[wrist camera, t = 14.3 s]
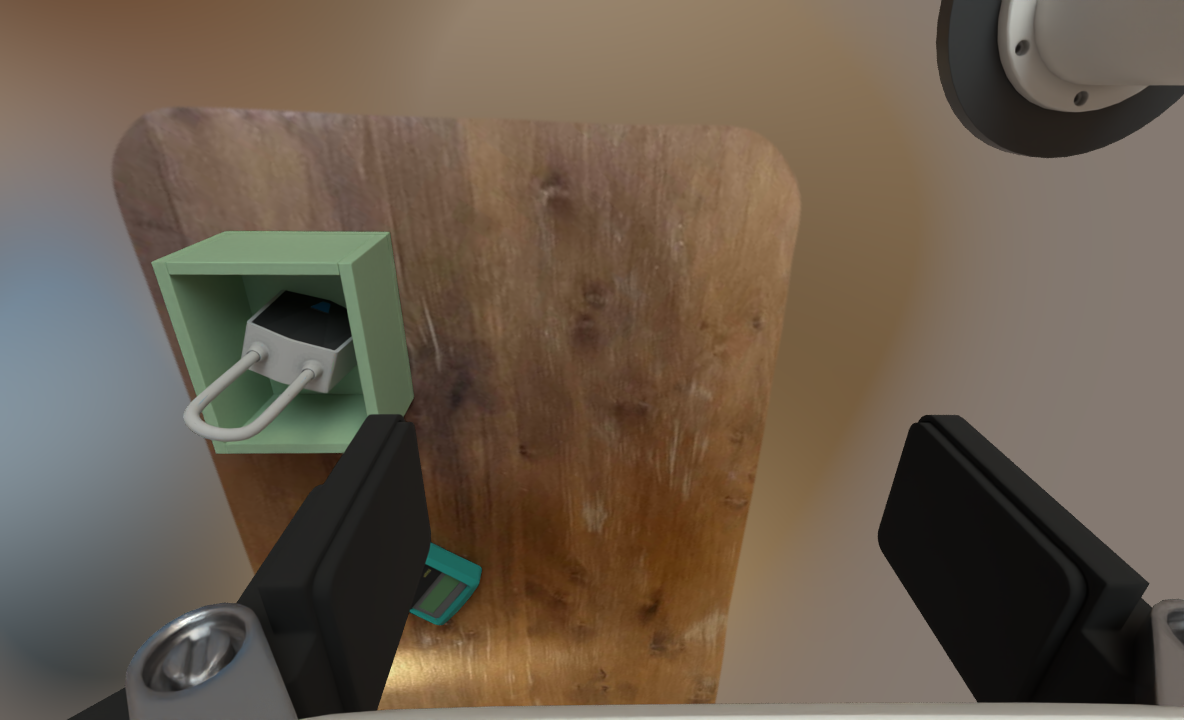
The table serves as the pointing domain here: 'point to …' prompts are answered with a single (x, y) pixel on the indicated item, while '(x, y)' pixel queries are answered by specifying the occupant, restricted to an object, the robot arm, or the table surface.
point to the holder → (248, 282)
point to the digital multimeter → (444, 585)
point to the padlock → (284, 358)
